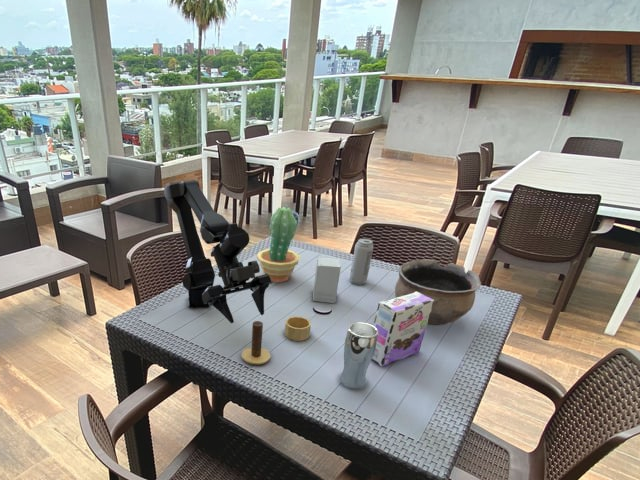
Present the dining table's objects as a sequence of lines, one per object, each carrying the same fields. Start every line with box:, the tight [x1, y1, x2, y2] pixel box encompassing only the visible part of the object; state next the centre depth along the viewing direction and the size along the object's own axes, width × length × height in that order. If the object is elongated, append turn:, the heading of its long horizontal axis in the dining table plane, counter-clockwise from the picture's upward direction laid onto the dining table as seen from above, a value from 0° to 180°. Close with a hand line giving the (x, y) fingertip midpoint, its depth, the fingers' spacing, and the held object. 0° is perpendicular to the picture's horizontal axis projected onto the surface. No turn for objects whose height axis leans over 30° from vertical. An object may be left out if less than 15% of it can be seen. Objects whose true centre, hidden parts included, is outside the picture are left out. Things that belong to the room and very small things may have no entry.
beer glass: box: [339, 321, 378, 390], centre depth 103 cm, size 7×7×15 cm
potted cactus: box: [256, 206, 301, 283], centre depth 152 cm, size 15×15×25 cm
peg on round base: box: [241, 320, 271, 365], centre depth 113 cm, size 8×8×11 cm
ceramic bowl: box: [394, 258, 482, 326], centre depth 130 cm, size 22×22×15 cm
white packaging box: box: [312, 257, 342, 304], centre depth 142 cm, size 7×7×13 cm
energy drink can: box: [349, 238, 375, 285], centre depth 152 cm, size 6×6×15 cm
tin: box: [284, 315, 312, 342], centre depth 124 cm, size 7×7×4 cm
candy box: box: [371, 292, 434, 367], centre depth 112 cm, size 14×6×16 cm, turn 117°
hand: (247, 318), depth 114 cm, fingers open, 9 cm apart
